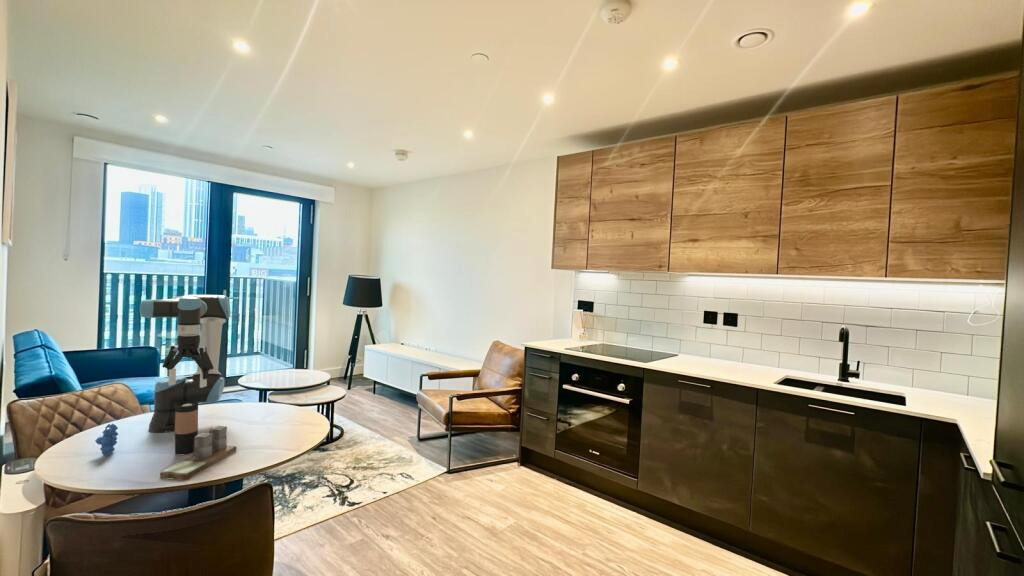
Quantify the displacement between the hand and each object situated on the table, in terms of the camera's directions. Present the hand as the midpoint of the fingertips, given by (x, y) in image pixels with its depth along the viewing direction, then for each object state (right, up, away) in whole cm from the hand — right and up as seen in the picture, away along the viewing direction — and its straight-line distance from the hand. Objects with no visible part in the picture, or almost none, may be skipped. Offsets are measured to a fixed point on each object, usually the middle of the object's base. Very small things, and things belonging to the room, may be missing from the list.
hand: (187, 385), depth 179 cm
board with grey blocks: (+12, -29, -9) cm, 32 cm away
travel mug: (-2, -28, +1) cm, 28 cm away
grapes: (-29, -27, -5) cm, 40 cm away
